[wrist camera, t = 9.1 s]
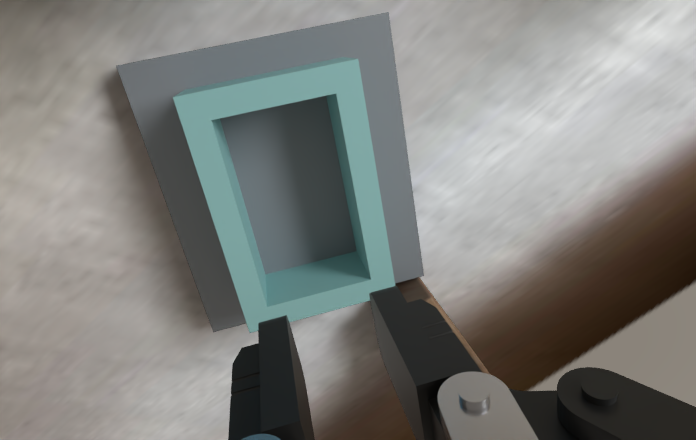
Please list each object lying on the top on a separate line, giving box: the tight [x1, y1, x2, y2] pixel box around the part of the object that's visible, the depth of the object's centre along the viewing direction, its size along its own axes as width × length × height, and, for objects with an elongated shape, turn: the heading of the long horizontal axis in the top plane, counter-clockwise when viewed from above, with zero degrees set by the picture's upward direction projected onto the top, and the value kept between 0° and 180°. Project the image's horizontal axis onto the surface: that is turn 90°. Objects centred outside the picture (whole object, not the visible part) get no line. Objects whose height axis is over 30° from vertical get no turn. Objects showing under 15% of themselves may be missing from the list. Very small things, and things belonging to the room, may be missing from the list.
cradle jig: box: [116, 12, 424, 333], centre depth 23 cm, size 13×15×5 cm
